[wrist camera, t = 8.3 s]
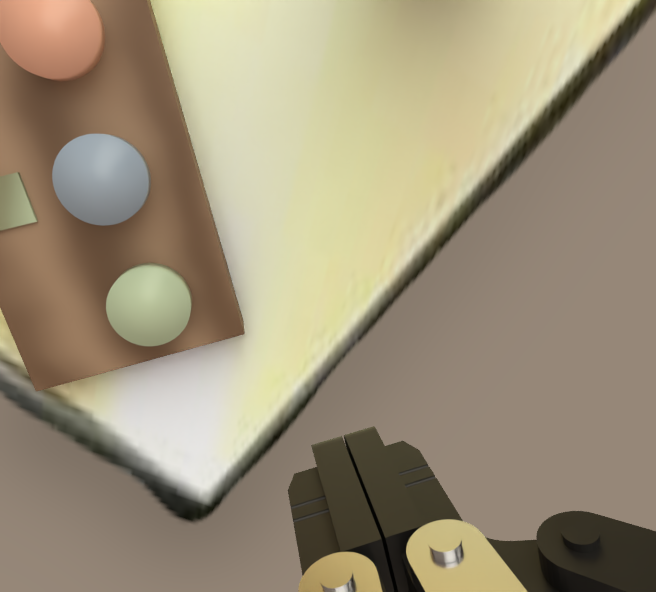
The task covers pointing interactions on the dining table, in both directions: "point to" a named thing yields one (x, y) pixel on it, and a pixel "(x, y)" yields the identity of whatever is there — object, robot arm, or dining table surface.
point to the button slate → (101, 179)
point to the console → (97, 240)
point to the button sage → (149, 304)
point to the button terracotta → (52, 36)
